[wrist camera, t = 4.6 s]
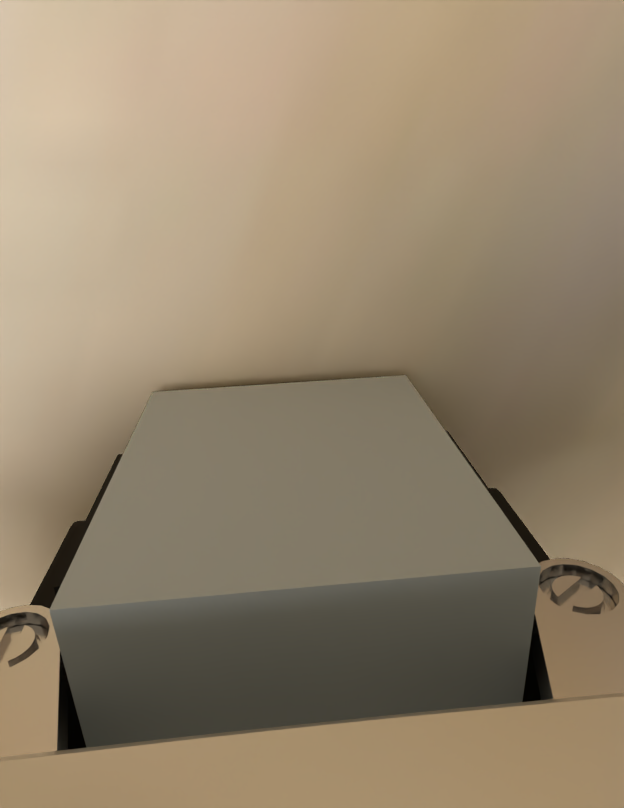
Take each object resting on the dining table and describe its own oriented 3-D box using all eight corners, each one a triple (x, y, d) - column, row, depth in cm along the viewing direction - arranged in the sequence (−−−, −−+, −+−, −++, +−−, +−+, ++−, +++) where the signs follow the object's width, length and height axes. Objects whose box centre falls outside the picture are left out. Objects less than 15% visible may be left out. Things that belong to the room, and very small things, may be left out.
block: (406, 374, 12) (541, 566, 6) (400, 577, 13) (500, 863, 8) (152, 391, 11) (48, 609, 6) (184, 595, 13) (130, 907, 8)
